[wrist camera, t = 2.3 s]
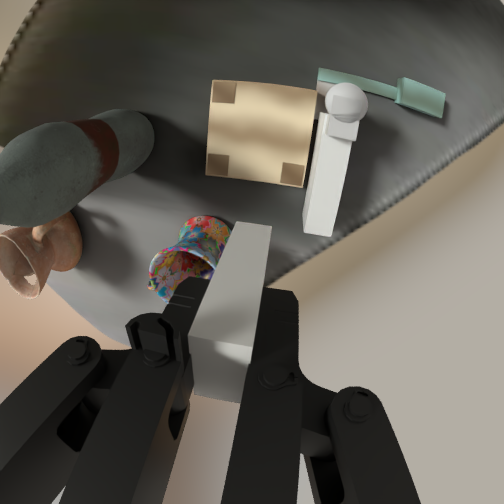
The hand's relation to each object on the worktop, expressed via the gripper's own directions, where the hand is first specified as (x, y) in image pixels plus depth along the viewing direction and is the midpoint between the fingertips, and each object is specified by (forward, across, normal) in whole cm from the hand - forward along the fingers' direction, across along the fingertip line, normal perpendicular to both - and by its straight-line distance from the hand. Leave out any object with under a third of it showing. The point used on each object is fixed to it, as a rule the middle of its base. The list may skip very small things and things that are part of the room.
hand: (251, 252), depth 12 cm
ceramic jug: (+25, -37, -15) cm, 47 cm away
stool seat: (+24, +6, +5) cm, 25 cm away
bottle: (+24, -20, +1) cm, 32 cm away
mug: (+25, -9, -14) cm, 30 cm away
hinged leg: (+24, +6, +1) cm, 25 cm away
